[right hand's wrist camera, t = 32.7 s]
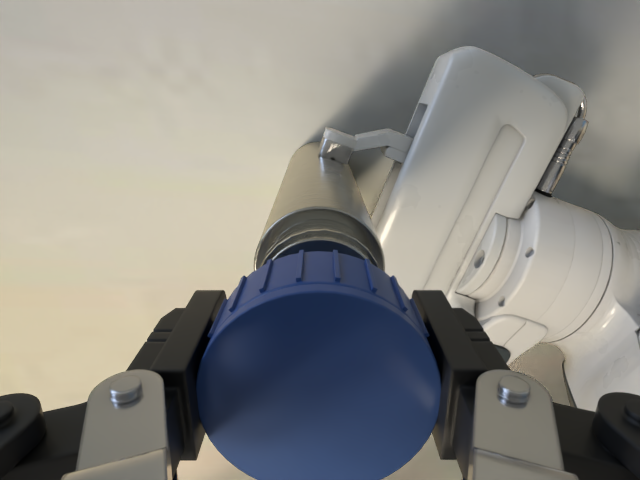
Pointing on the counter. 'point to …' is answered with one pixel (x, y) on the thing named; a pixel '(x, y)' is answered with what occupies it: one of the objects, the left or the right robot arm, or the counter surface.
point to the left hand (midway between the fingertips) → (304, 187)
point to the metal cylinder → (318, 212)
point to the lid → (318, 372)
